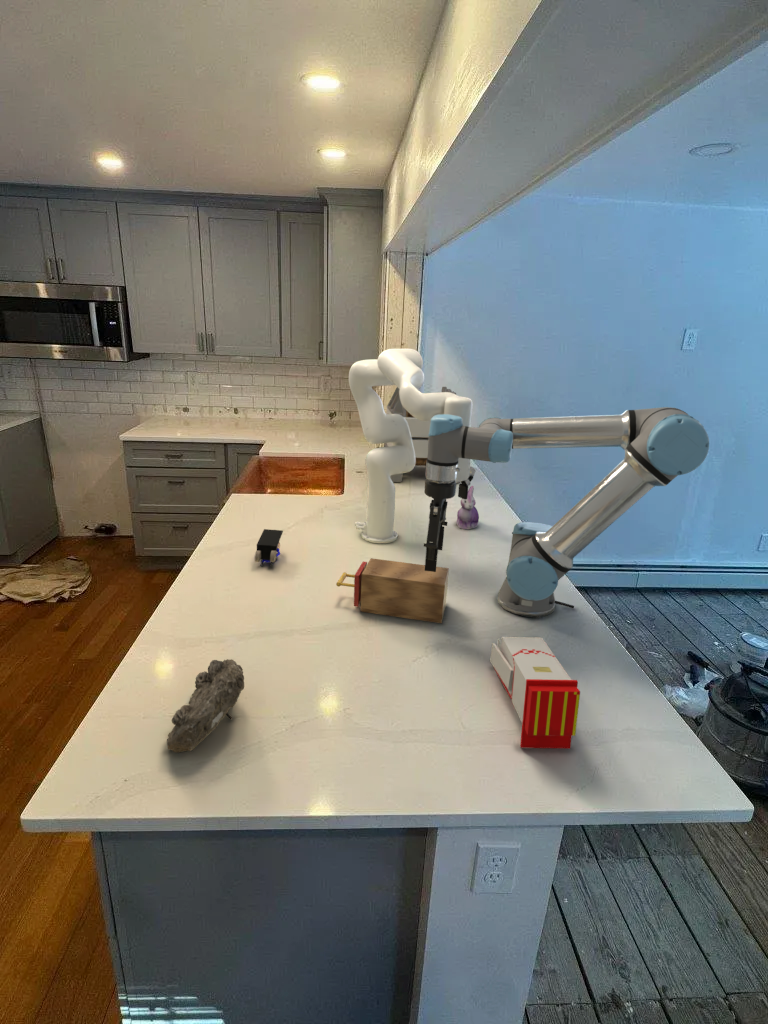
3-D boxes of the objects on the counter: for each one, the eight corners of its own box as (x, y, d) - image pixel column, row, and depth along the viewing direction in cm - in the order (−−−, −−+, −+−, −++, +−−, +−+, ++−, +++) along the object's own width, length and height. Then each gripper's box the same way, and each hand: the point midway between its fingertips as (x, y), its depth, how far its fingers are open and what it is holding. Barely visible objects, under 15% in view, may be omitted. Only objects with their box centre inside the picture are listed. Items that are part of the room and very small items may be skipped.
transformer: (382, 463, 289) (386, 382, 275) (445, 464, 293) (451, 384, 279) (390, 482, 257) (394, 392, 243) (460, 483, 261) (468, 394, 247)
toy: (539, 620, 128) (589, 687, 99) (533, 674, 131) (581, 755, 102) (485, 619, 128) (521, 686, 99) (481, 673, 131) (514, 755, 101)
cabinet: (360, 611, 148) (361, 573, 144) (369, 594, 157) (370, 558, 153) (441, 623, 144) (444, 584, 140) (445, 604, 153) (449, 568, 149)
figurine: (464, 531, 204) (468, 492, 199) (448, 522, 212) (452, 484, 207) (485, 528, 208) (490, 489, 203) (469, 519, 217) (473, 481, 212)
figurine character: (277, 573, 169) (284, 548, 183) (276, 551, 166) (283, 527, 179) (254, 573, 169) (263, 547, 182) (252, 551, 166) (262, 527, 179)
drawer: (334, 603, 149) (335, 572, 146) (343, 588, 158) (344, 558, 154) (429, 617, 145) (431, 585, 142) (433, 601, 153) (436, 570, 150)
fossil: (192, 660, 117) (244, 628, 112) (224, 691, 120) (276, 661, 115) (142, 746, 98) (202, 712, 93) (182, 779, 101) (242, 748, 96)
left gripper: (467, 436, 164) (462, 492, 170) (423, 442, 154) (419, 502, 160) (486, 441, 159) (480, 499, 165) (441, 448, 149) (437, 509, 155)
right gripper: (451, 496, 125) (442, 583, 132) (460, 468, 148) (453, 543, 155) (417, 492, 126) (411, 578, 133) (432, 465, 149) (426, 539, 156)
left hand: (450, 500), depth 162 cm, fingers open, 9 cm apart
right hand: (433, 559), depth 144 cm, fingers open, 13 cm apart
